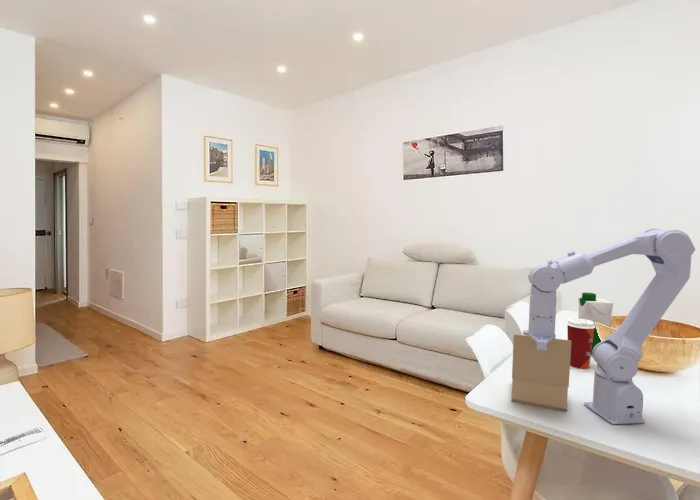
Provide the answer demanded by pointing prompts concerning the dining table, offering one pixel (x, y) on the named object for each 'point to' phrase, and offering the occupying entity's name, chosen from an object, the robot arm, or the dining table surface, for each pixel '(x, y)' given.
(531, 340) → the carton lid
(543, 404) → the carton
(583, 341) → the paper cup
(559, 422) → the dining table surface
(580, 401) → the dining table surface
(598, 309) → the milk carton
